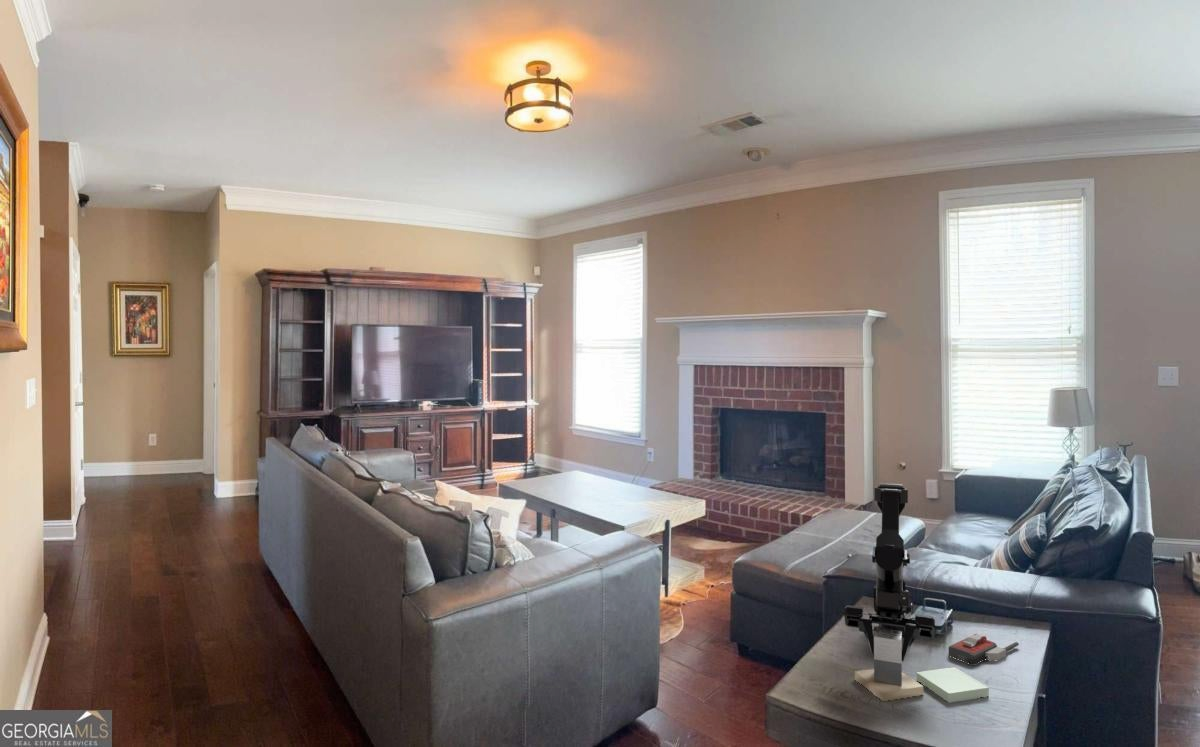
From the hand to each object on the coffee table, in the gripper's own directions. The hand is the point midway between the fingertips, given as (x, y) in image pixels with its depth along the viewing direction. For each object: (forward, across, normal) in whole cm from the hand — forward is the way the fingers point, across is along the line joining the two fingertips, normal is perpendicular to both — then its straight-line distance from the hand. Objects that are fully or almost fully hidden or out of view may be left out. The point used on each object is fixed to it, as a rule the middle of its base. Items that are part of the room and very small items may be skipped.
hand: (887, 658), depth 149 cm
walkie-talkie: (-15, +21, +26) cm, 37 cm away
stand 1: (+4, 0, +6) cm, 7 cm away
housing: (+3, 0, +5) cm, 5 cm away
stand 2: (+1, +13, +9) cm, 16 cm away
